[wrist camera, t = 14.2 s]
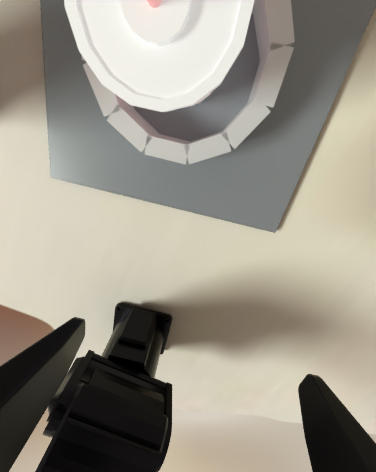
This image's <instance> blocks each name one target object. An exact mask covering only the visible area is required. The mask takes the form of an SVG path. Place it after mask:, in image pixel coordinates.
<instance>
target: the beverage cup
mask: <svg viewBox="0 0 376 472" xmlns="http://www.w3.org/2000/svg"><path fill="white" fill-rule="evenodd" d="M253 5H254V0H64V6H65V10H66V13H67V16H68V19H69V22H70V25H71V28H72V31H73V34H74V37H75V40H76V44H77V47H78V50H79V52H80V53H81V55H82V56H83V58H84V59H85V61H86V62H87V63H88V65H89V66H90V68H91V69H92V71H93V72H94V74H95V75H96V77H97V78H98V79H99V81H100V82H101V84H102V85H103V86H105V87H106V88H107V89H109V90H110V91H112V92H113V93H114V94H116V95H117V96H119V97H120V98H121V99H123V100H124V101H125V102H127V103H128V104H130V105H132V106H137V107H141V108H146V109H150V110H155V111H159V112H168V111H172V110H176V109H180V108H185V107H189V106H193V105H195V104H198V103H200V102H201V101H203V100H204V99H205V98H206V97H208V96H209V95H210V94H211V92H212V91H213V90H214V89H216V88H217V87H218V86H219V85H220V84H221V83H222V81H223V79H224V78H225V76H226V75H227V73H228V71H229V70H230V68H231V66H232V65H233V63H234V61H235V60H236V58H237V56H238V55H239V53H240V51H241V50H242V48H243V46H244V42H245V38H246V34H247V29H248V25H249V21H250V17H251V13H252V9H253Z"/></svg>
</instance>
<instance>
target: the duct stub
mask: <svg viewBox="0 0 376 472" xmlns="http://www.w3.org/2000/svg"><path fill="white" fill-rule="evenodd" d="M40 2H41V20H42V37H43V54H44V72H45V89H46V106H47V124H48V141H49V159H50V176H51V178H54V179H58V180H62V181H67V182H71V183H75V184H79V185H83V186H87V187H91V188H95V189H99V190H103V191H107V192H111V193H115V194H119V195H123V196H128V197H132V198H136V199H140V200H144V201H148V202H152V203H156V204H160V205H164V206H168V207H172V208H176V209H180V210H184V211H188V212H193V213H197V214H201V215H205V216H209V217H213V218H217V219H221V220H225V221H229V222H233V223H237V224H241V225H245V226H249V227H254V228H258V229H262V230H266V231H270V232H274V233H275V232H276V230H277V227H278V225H279V223H280V221H281V218H282V216H283V214H284V212H285V209H286V207H287V205H288V203H289V200H290V198H291V196H292V194H293V191H294V189H295V187H296V185H297V182H298V180H299V178H300V176H301V173H302V171H303V169H304V167H305V164H306V162H307V160H308V158H309V155H310V153H311V151H312V149H313V146H314V144H315V142H316V140H317V137H318V135H319V133H320V131H321V128H322V126H323V124H324V122H325V119H326V117H327V115H328V113H329V110H330V108H331V106H332V104H333V102H334V99H335V97H336V95H337V93H338V90H339V88H340V86H341V84H342V81H343V79H344V77H345V75H346V72H347V70H348V68H349V66H350V63H351V61H352V59H353V57H354V54H355V52H356V50H357V48H358V45H359V43H360V41H361V39H362V36H363V34H364V32H365V30H366V27H367V25H368V23H369V21H370V18H371V16H372V14H373V12H374V9H375V7H376V0H254V5H253V9H252V13H251V17H250V21H249V25H248V29H247V34H246V38H245V42H244V46H243V48H242V50H241V51H240V53H239V55H238V56H237V58H236V60H235V61H234V63H233V65H232V66H231V68H230V70H229V71H228V73H227V75H226V76H225V78H224V79H223V81H222V83H221V84H220V85H219V86H218V87H217V88H216V89H214V90H213V91H212V92H211V94H210V95H209V96H208V97H206V98H205V99H204V100H203V101H201V102H200V103H198V104H195V105H193V106H189V107H185V108H180V109H176V110H172V111H168V112H159V111H155V110H150V109H146V108H141V107H137V106H132V105H130V104H128V103H127V102H125V101H124V100H123V99H121V98H120V97H119V96H117V95H116V94H114V93H113V92H112V91H110V90H109V89H107V88H106V87H105V86H103V85H102V84H101V82H100V81H99V79H98V78H97V77H96V75H95V74H94V72H93V71H92V69H91V68H90V66H89V65H88V63H87V62H86V61H85V59H84V58H83V56H82V55H81V53H80V52H79V50H78V47H77V44H76V40H75V37H74V34H73V31H72V28H71V25H70V22H69V19H68V16H67V13H66V10H65V6H64V0H40Z"/></svg>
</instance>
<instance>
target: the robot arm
mask: <svg viewBox="0 0 376 472" xmlns="http://www.w3.org/2000/svg"><path fill="white" fill-rule="evenodd" d="M119 307H120V308H119ZM167 319H169V320H167ZM171 322H172V317H171V316H170V315H167V314H163V313H159V312H155V311H151V310H147V309H143V308H139V307H134V306H130V305H126V304H122V303H118V304H117V305H116V308H115V316H114V326H113V333H112V335H111V338H110V340H109V342H108V344H107V346H106V348H105V350H104V352H103V354H102V356H100V355H98V354H95V353H94V352H93V351H91V350H89V351H88V353H87V354H86V356H85V357H84V356H83V357H80V358H76V360H75V362H74V363H73V365H72V367H71V369H70V370H69V368H70V366H71V364H72V362H73V360H74V358H75V356H76V353H77V351H78V349H79V347H80V345H81V343H82V341H83V339H84V336H85V320H84V319H81V318H77V317H74V318H72V319H70V320H69V321H67V322H66V323H64V324H63V325H61V326H60V327H58V328H57V329H55V330H54V331H52V332H51V333H49V334H48V335H46V336H45V337H44V338H42V339H40V340H39V341H38V342H36V343H34V344H33V345H31V346H30V347H28V348H27V349H25V350H24V351H22V352H21V353H19V354H18V355H16V356H15V357H14V358H12V359H10V360H9V361H8V362H6V363H4V364H3V365H1V366H0V472H9V470H10V469H11V467H12V465H13V464H14V462H15V460H16V459H17V457H18V455H19V454H20V452H21V450H22V449H23V447H24V445H25V444H26V442H27V440H28V439H29V437H30V435H31V434H32V432H33V430H34V429H35V427H36V425H37V424H38V422H39V420H40V419H41V417H42V415H43V414H44V412H45V410H46V409H47V407H48V411H49V417H48V419H47V422H49V423H48V425H47V427H46V428H45V430H44V432H43V435H45V436H48V437H52V440H51V442H50V444H49V446H48V448H47V450H46V452H45V454H44V456H43V458H42V460H41V462H40V464H39V466H38V468H37V470H36V471H35V472H158V471H159V470H160V468H161V466H162V464H163V461H164V459H165V456H166V453H167V450H168V446H169V442H170V437H171V429H172V384H170V383H165V382H162V381H160V380H157V379H155V378H154V377H155V373H156V369H157V365H158V360H159V356H160V354H163V352H164V348H165V344H166V341H167V337H168V333H169V329H170V325H171ZM68 370H69V372H68ZM67 372H68V374H67ZM66 374H67V375H66ZM65 376H66V377H65ZM298 392H299V399H300V406H301V414H302V421H303V428H304V433H305V439H306V444H307V448H308V453H309V457H310V461H311V466H312V470H313V472H376V443H375V442H374V441H373V440H372V438H371V437H370V436H369V435H368V434H367V432H366V431H365V430H364V429H363V428H362V426H361V425H360V424H359V423H358V422H357V420H356V419H355V418H354V417H353V416H352V414H351V413H350V412H349V411H348V410H347V408H346V407H345V406H344V405H343V404H342V402H341V401H340V400H339V399H338V398H337V396H336V395H335V394H334V393H333V392H332V390H331V389H330V388H329V387H328V386H327V384H326V383H325V382H324V381H323V380H322V378H320V377H319V376H317V375H312V374H308V375H307V376H306V377H305V378H304V380H303V381H302V382H301V383H300V385H299V389H298Z"/></svg>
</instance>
